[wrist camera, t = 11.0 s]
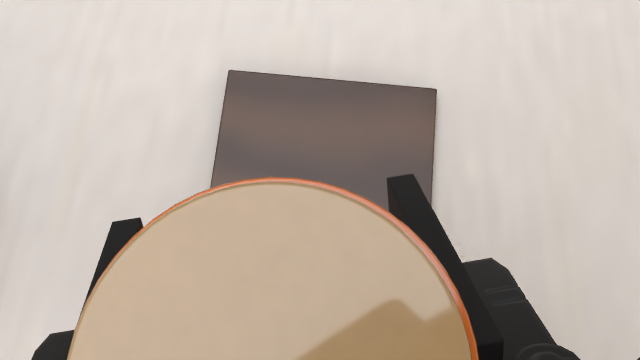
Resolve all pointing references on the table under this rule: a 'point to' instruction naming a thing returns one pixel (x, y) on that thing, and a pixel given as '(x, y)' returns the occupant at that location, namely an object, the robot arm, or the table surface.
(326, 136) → the brown wooden step stand
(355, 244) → the canister
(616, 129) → the table surface
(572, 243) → the table surface
